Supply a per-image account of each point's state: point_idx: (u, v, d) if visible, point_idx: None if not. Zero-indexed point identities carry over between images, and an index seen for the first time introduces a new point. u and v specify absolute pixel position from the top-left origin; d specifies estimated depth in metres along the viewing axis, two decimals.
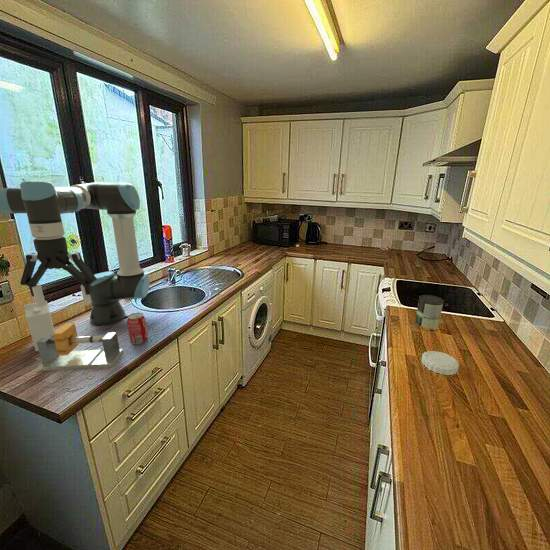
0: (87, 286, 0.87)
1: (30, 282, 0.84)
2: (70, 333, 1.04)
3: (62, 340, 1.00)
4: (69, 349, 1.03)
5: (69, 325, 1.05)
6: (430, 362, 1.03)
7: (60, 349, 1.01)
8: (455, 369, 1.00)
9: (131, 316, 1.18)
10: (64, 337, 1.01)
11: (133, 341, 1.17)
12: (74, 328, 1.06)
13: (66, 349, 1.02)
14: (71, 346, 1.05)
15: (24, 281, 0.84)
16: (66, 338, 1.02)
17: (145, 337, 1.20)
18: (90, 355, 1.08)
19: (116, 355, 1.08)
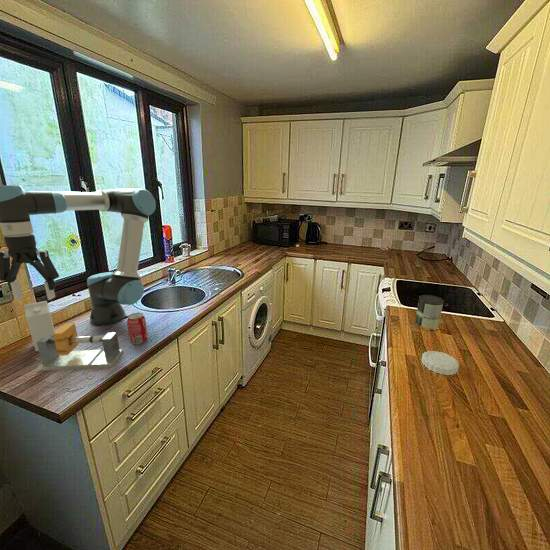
0: (50, 282, 0.97)
1: (8, 278, 0.95)
2: (70, 333, 1.04)
3: (62, 340, 1.00)
4: (69, 349, 1.03)
5: (69, 325, 1.05)
6: (430, 362, 1.03)
7: (60, 349, 1.01)
8: (455, 369, 1.00)
9: (131, 316, 1.18)
10: (64, 337, 1.01)
11: (133, 341, 1.17)
12: (74, 328, 1.06)
13: (66, 349, 1.02)
14: (71, 346, 1.05)
15: (3, 277, 0.94)
16: (66, 338, 1.02)
17: (145, 337, 1.20)
18: (90, 355, 1.08)
19: (116, 355, 1.08)
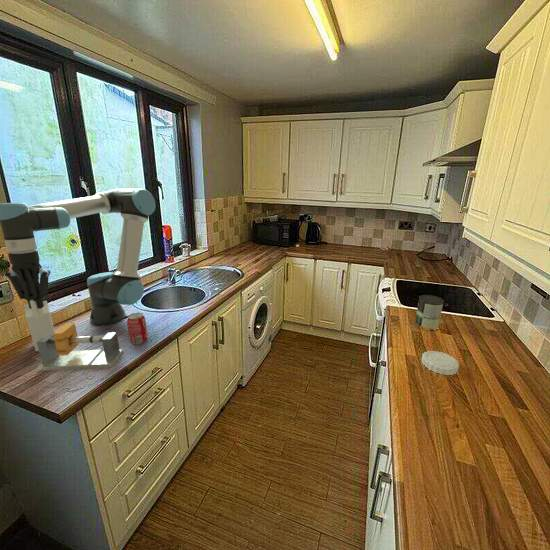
0: (38, 301, 0.98)
1: (26, 296, 0.97)
2: (70, 333, 1.04)
3: (62, 340, 1.00)
4: (69, 349, 1.03)
5: (69, 325, 1.05)
6: (430, 362, 1.03)
7: (60, 349, 1.01)
8: (455, 369, 1.00)
9: (131, 316, 1.18)
10: (64, 337, 1.01)
11: (133, 341, 1.17)
12: (74, 328, 1.06)
13: (66, 349, 1.02)
14: (71, 346, 1.05)
15: (21, 295, 0.96)
16: (66, 338, 1.02)
17: (145, 337, 1.20)
18: (90, 355, 1.08)
19: (116, 355, 1.08)
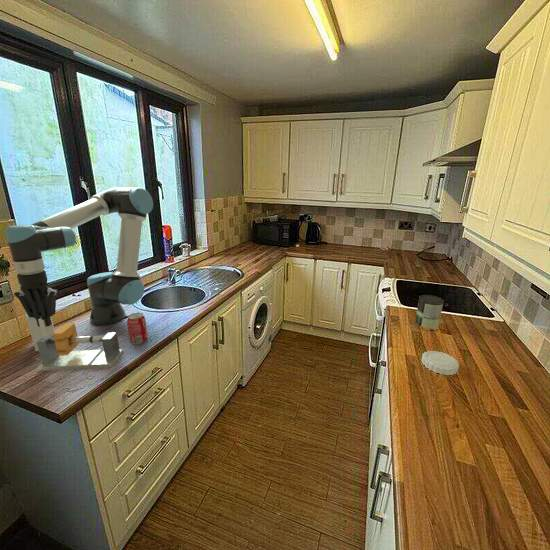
0: (46, 319, 1.01)
1: (35, 315, 0.99)
2: (70, 333, 1.04)
3: (62, 340, 1.00)
4: (69, 349, 1.03)
5: (69, 325, 1.05)
6: (430, 362, 1.03)
7: (60, 349, 1.01)
8: (455, 369, 1.00)
9: (131, 316, 1.18)
10: (64, 337, 1.01)
11: (133, 341, 1.17)
12: (74, 328, 1.06)
13: (66, 349, 1.02)
14: (71, 346, 1.05)
15: (30, 313, 0.99)
16: (66, 338, 1.02)
17: (145, 337, 1.20)
18: (90, 355, 1.08)
19: (116, 355, 1.08)
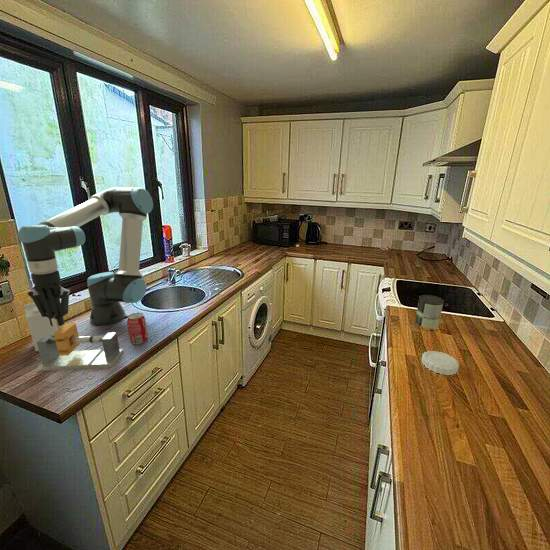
0: (59, 319, 1.01)
1: (48, 314, 1.00)
2: (71, 333, 1.04)
3: (63, 340, 1.00)
4: (70, 349, 1.03)
5: (70, 325, 1.05)
6: (430, 362, 1.03)
7: (61, 349, 1.01)
8: (455, 369, 1.00)
9: (131, 316, 1.18)
10: (65, 337, 1.01)
11: (133, 341, 1.17)
12: (75, 328, 1.07)
13: (67, 349, 1.02)
14: (72, 346, 1.05)
15: (43, 313, 0.99)
16: (67, 338, 1.02)
17: (145, 337, 1.20)
18: (90, 355, 1.08)
19: (116, 355, 1.08)
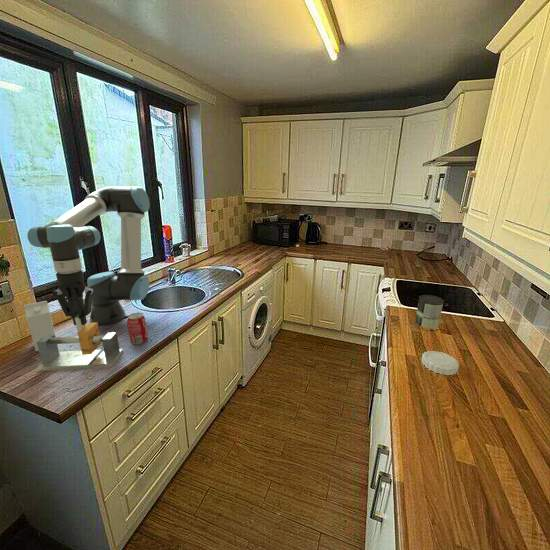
0: (82, 318, 1.02)
1: (71, 314, 1.00)
2: (93, 332, 1.05)
3: (86, 339, 1.01)
4: (93, 348, 1.04)
5: (92, 324, 1.06)
6: (430, 362, 1.03)
7: (84, 348, 1.02)
8: (455, 369, 1.00)
9: (131, 316, 1.18)
10: (88, 336, 1.02)
11: (133, 341, 1.17)
12: (97, 327, 1.07)
13: (90, 348, 1.02)
14: (94, 345, 1.05)
15: (67, 312, 1.00)
16: (90, 337, 1.02)
17: (145, 337, 1.20)
18: (90, 355, 1.08)
19: (116, 355, 1.08)
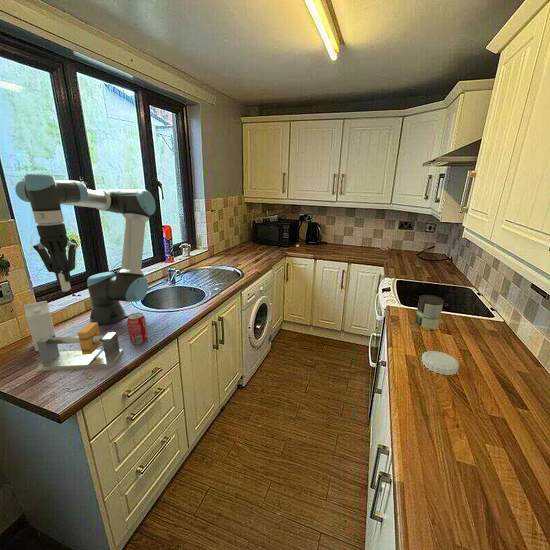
0: (66, 274, 0.99)
1: (54, 269, 0.97)
2: (94, 332, 1.05)
3: (87, 339, 1.01)
4: (93, 348, 1.04)
5: (92, 324, 1.06)
6: (430, 362, 1.03)
7: (84, 348, 1.02)
8: (455, 369, 1.00)
9: (131, 316, 1.18)
10: (88, 336, 1.02)
11: (133, 341, 1.17)
12: (97, 327, 1.07)
13: (90, 348, 1.02)
14: (94, 345, 1.05)
15: (49, 268, 0.97)
16: (90, 337, 1.02)
17: (145, 337, 1.20)
18: (90, 355, 1.08)
19: (116, 355, 1.08)
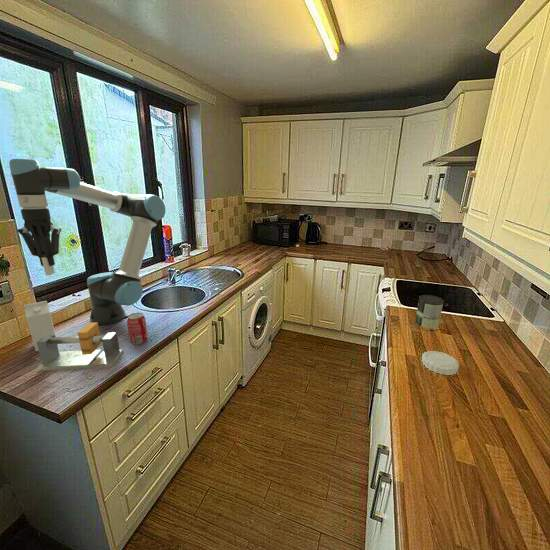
0: (50, 258, 1.01)
1: (38, 253, 1.00)
2: (94, 332, 1.05)
3: (87, 339, 1.01)
4: (93, 348, 1.04)
5: (92, 324, 1.06)
6: (430, 362, 1.03)
7: (84, 348, 1.02)
8: (455, 369, 1.00)
9: (131, 316, 1.18)
10: (88, 336, 1.02)
11: (133, 341, 1.17)
12: (97, 327, 1.07)
13: (90, 348, 1.02)
14: (94, 345, 1.05)
15: (33, 251, 1.00)
16: (90, 337, 1.02)
17: (145, 337, 1.20)
18: (90, 355, 1.08)
19: (116, 355, 1.08)
